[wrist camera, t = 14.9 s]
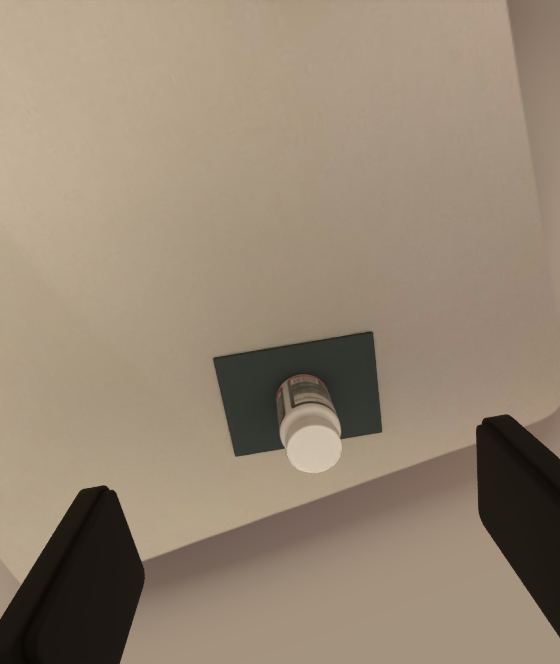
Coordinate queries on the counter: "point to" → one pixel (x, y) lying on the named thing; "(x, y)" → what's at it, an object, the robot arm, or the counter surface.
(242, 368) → the mat
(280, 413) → the pill bottle
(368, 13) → the counter surface
